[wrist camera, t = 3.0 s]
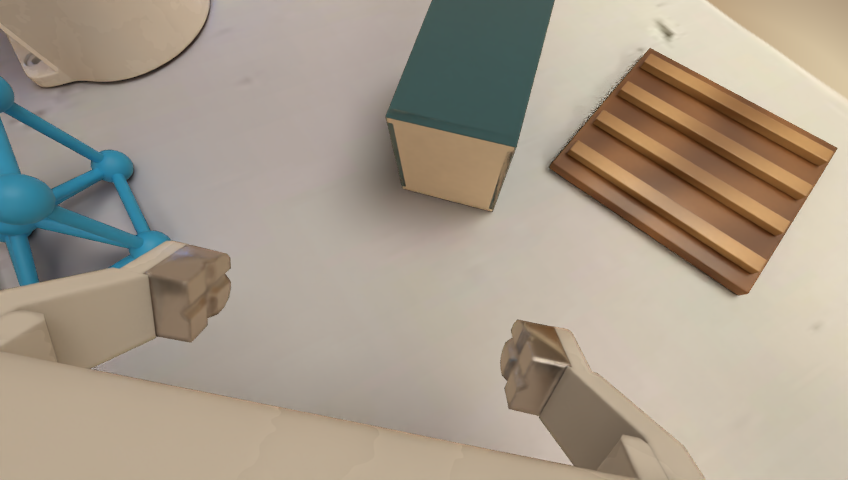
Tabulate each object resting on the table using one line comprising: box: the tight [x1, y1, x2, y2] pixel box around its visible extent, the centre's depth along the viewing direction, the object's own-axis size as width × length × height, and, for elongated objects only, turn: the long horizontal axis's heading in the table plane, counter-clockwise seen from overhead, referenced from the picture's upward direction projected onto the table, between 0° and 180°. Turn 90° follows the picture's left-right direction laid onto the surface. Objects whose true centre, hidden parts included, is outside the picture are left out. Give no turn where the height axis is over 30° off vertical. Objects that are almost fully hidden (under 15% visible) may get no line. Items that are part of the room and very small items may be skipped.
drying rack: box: [549, 48, 837, 295], centre depth 24 cm, size 14×13×1 cm
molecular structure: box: [0, 76, 171, 286], centre depth 20 cm, size 10×10×10 cm
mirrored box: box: [386, 0, 555, 212], centre depth 22 cm, size 10×7×8 cm, turn 163°
